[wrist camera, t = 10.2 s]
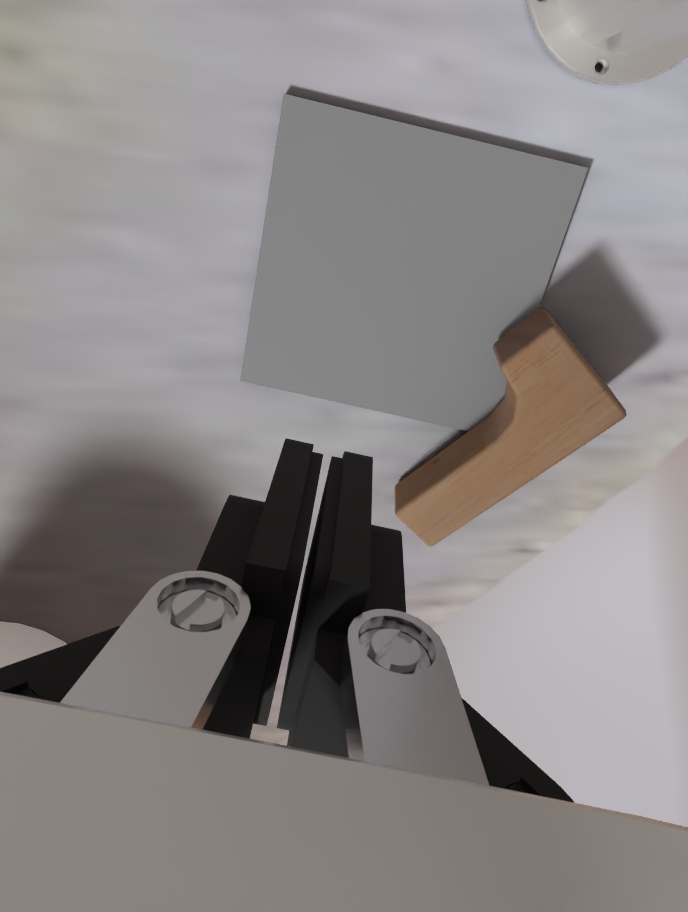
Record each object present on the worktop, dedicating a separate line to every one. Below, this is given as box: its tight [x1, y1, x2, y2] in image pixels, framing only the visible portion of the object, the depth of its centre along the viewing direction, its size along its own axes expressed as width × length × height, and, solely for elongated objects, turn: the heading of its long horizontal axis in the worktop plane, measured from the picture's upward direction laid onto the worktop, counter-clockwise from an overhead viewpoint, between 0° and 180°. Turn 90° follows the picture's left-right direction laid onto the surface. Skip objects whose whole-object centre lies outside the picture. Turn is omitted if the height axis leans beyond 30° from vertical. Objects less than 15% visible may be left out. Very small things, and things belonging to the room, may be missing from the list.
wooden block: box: [395, 308, 626, 546], centre depth 48 cm, size 9×4×18 cm
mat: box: [241, 94, 588, 431], centre depth 46 cm, size 20×20×1 cm
